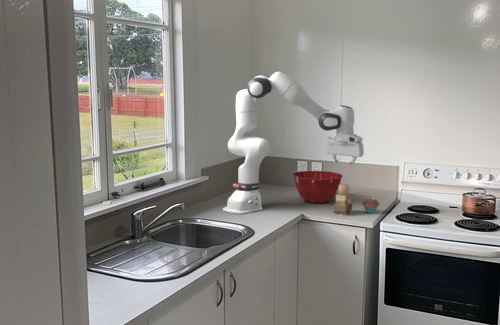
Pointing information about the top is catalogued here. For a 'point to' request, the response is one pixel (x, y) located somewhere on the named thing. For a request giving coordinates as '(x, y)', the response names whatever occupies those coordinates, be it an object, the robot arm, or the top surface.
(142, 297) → the top surface
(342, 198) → the tower top
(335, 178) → the mixing bowl
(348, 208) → the tower base
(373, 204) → the cupcake
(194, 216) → the top surface
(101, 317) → the top surface
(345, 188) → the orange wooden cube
